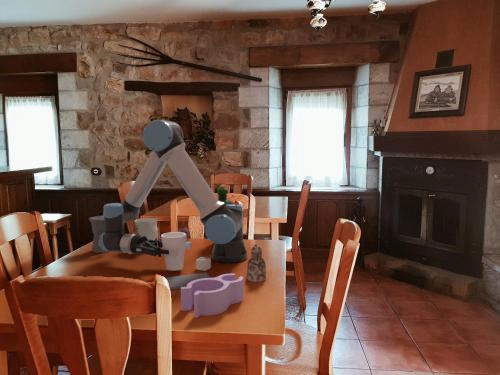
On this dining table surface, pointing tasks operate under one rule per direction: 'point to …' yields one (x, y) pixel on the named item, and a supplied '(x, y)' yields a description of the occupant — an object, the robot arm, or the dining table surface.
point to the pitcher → (146, 228)
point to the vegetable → (184, 230)
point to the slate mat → (184, 280)
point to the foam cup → (177, 242)
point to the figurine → (256, 266)
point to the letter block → (203, 263)
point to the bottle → (223, 195)
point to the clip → (212, 294)
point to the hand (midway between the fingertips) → (184, 249)
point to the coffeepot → (97, 232)
